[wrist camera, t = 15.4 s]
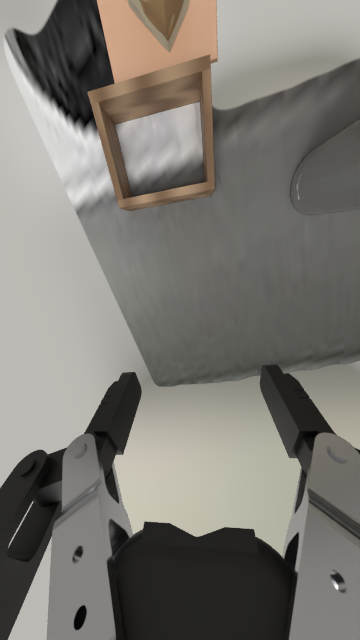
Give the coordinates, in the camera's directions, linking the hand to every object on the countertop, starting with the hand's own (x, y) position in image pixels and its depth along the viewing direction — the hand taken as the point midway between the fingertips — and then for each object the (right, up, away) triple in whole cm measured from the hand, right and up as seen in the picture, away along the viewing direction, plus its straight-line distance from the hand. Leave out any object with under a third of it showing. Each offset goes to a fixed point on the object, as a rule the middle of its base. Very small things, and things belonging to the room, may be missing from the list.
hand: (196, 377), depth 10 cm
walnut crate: (-4, +30, +16) cm, 34 cm away
